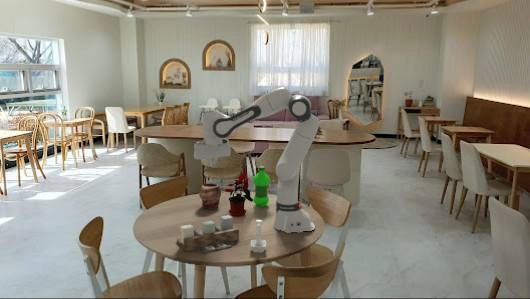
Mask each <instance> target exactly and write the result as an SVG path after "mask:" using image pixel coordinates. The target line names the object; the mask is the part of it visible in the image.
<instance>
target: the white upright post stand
mask: <svg viewBox="0 0 530 299" xmlns="http://www.w3.org/2000/svg"><path fill="white" fill-rule="evenodd" d="M262 225H263V220H261V219H256V220H255V239H251V240H250V248H251V250H252V252H253V253H260V254H261V253H264V251H265V249H266V247H267V240H266V239H262Z"/></svg>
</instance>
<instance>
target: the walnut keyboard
mask: <svg viewBox="0 0 530 299" xmlns="http://www.w3.org/2000/svg"><path fill="white" fill-rule="evenodd" d="M239 240H240V229H239V228H238V227H235V228H233V229H230V230H225V231H222V230H221V227H219V226H217V225H215V233H210V234H205V235H203V233H200V232H199V231H198V230H197V229H194V237H190V238H185V239H183V244H182V243H181V237H179V238H176V244H178V245H179V247H180V248H181V249H182V250H183V251H184V252H189V251H193V250H200V251H201V252H202V253H203V254H207V253H211V252H216V251H220V250H225V249H229V248H232V245H231V244H230V243H229V242H235V241H239Z"/></svg>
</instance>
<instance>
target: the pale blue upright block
mask: <svg viewBox="0 0 530 299" xmlns="http://www.w3.org/2000/svg"><path fill="white" fill-rule="evenodd" d="M233 221H234V217H233V216H232V215H230V214H228V215H223V216H220V229H221V230H222V231H225V230H230V229H234V226H233V225H234V222H233Z"/></svg>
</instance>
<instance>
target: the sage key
mask: <svg viewBox="0 0 530 299" xmlns="http://www.w3.org/2000/svg"><path fill="white" fill-rule="evenodd" d="M215 226H216V223H215V222H214V221H213V220H207V221H202V227H201V228H202V234H203V235H205V234H210V233H215Z"/></svg>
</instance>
